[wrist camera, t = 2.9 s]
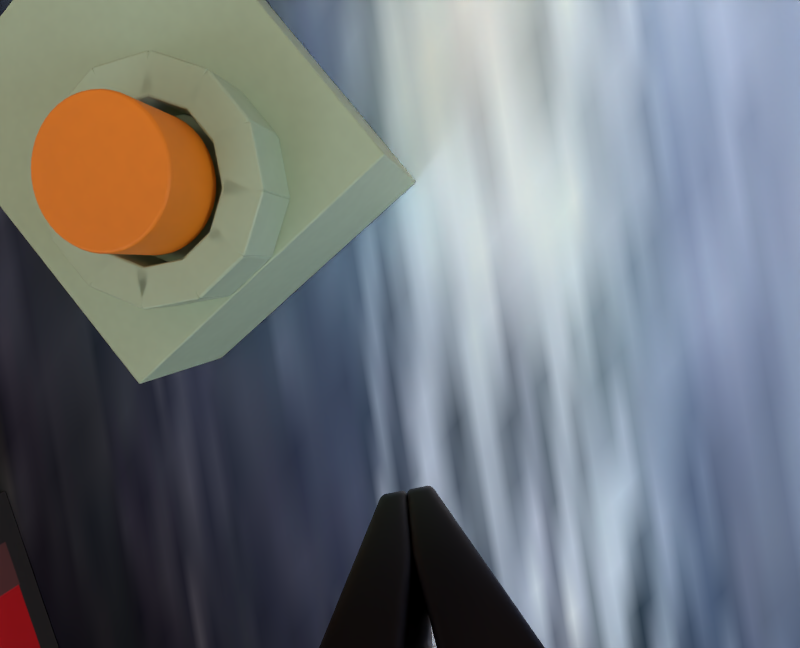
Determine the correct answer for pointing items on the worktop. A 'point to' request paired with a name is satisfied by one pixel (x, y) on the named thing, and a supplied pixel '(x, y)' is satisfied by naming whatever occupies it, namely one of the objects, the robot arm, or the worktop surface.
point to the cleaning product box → (19, 591)
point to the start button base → (231, 154)
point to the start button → (121, 175)
